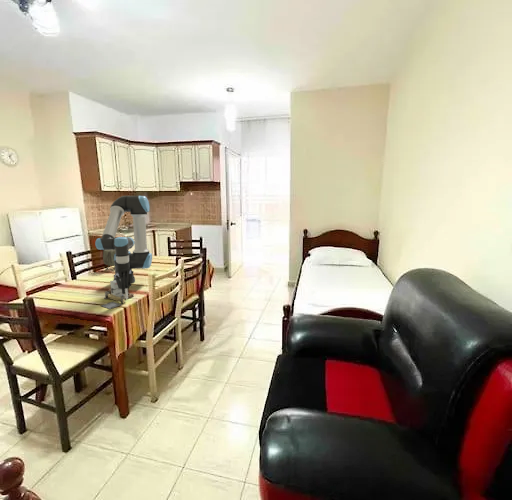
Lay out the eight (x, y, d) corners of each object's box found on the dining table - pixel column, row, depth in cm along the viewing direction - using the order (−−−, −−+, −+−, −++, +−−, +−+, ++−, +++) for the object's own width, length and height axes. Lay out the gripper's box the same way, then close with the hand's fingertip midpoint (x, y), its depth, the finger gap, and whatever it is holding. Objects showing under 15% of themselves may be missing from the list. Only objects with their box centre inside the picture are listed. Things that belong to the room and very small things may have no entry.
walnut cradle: (119, 292, 208) (119, 285, 207) (133, 296, 201) (133, 289, 199) (102, 298, 197) (101, 291, 196) (116, 302, 190) (115, 295, 189)
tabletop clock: (119, 266, 275) (117, 238, 270) (125, 267, 270) (123, 240, 265) (104, 269, 264) (101, 241, 258) (109, 271, 258) (107, 242, 253)
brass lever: (108, 296, 200) (107, 289, 199) (126, 302, 189) (125, 295, 188) (104, 297, 197) (103, 291, 196) (121, 303, 187) (121, 297, 186)
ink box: (123, 294, 204) (122, 278, 201) (127, 296, 201) (126, 279, 198) (111, 298, 197) (109, 281, 195) (115, 300, 194) (113, 282, 192)
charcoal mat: (112, 301, 191) (112, 301, 191) (122, 304, 187) (122, 304, 187) (101, 306, 184) (101, 305, 184) (110, 309, 180) (110, 308, 180)
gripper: (127, 259, 195) (130, 294, 200) (109, 263, 184) (112, 300, 189) (135, 260, 191) (138, 296, 196) (117, 265, 180) (120, 302, 185)
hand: (125, 298), depth 192 cm, fingers closed
